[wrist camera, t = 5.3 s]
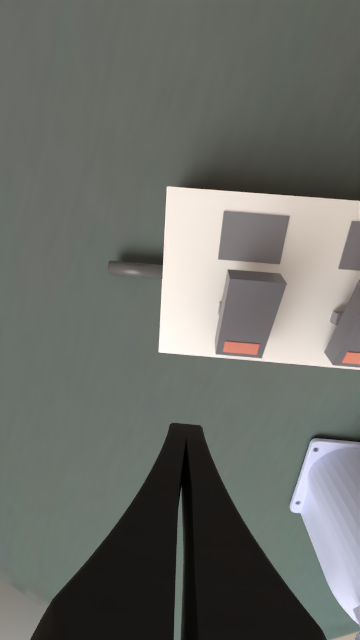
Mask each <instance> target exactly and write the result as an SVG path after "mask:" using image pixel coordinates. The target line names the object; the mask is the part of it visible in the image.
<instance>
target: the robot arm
mask: <svg viewBox="0 0 360 640" xmlns="http://www.w3.org/2000/svg"><path fill="white" fill-rule="evenodd" d="M181 488H182V518H183V546H184V565H183V593H182V620H181V640H327V639H326V637H325V635H324V633H323V631H322V629H321V628H320V627H319V625H318V624H317V623H316V622H315V620H314V619H313V618H312V617H311V615H310V614H309V613H308V612H307V610H306V609H305V608H304V607H303V605H302V604H301V603H300V602H299V600H298V599H297V598H296V596H295V595H294V594H293V592H292V591H291V590H290V589H289V587H288V586H287V584H286V583H285V582H284V580H283V579H282V578H281V576H280V575H279V574H278V572H277V571H276V569H275V568H274V567H273V565H272V564H271V562H270V561H269V559H268V558H267V556H266V555H265V553H264V552H263V550H262V549H261V547H260V546H259V545H258V543H257V542H256V540H255V539H254V537H253V536H252V534H251V532H250V531H249V529H248V527H247V526H246V524H245V523H244V521H243V519H242V518H241V516H240V514H239V512H238V511H237V509H236V507H235V505H234V503H233V502H232V500H231V498H230V496H229V494H228V492H227V490H226V488H225V486H224V484H223V482H222V480H221V478H220V476H219V473H218V471H217V469H216V466H215V464H214V462H213V459H212V457H211V454H210V452H209V449H208V446H207V443H206V440H205V437H204V433H203V429H202V427H201V426H200V425H190V424H179V423H172V424H170V427H169V431H168V434H167V437H166V440H165V442H164V445H163V447H162V449H161V451H160V454H159V456H158V458H157V460H156V462H155V464H154V466H153V468H152V469H151V471H150V473H149V475H148V477H147V478H146V480H145V482H144V484H143V485H142V487H141V489H140V490H139V492H138V494H137V495H136V497H135V498H134V500H133V501H132V503H131V504H130V506H129V507H128V509H127V510H126V512H125V513H124V514H123V516H122V517H121V519H120V520H119V521H118V523H117V524H116V525H115V527H114V528H113V529H112V531H111V532H110V533H109V535H108V536H107V537H106V538H105V540H104V541H103V542H102V543H101V545H100V546H99V547H98V548H97V549H96V551H95V552H94V553H93V554H92V556H91V557H90V558H89V559H88V560H87V562H86V563H85V564H84V565H83V566H82V567H81V569H80V570H79V571H78V572H77V573H76V574H75V575H74V576H73V577H72V579H71V580H70V581H69V582H68V583H67V584H66V585H65V586H64V587H63V588H62V590H61V591H60V592H59V593H58V594H57V595H56V596H55V597H54V598H53V600H52V601H51V603H50V605H49V606H48V608H47V610H46V612H45V613H44V615H43V617H42V619H41V620H40V622H39V624H38V626H37V628H36V630H35V632H34V633H33V636H32V637H31V640H174V607H175V575H176V546H177V521H178V506H179V499H180V491H181ZM290 509H291V511H292V512H294V513H301V515H302V518H303V521H304V523H305V526H306V528H307V531H308V533H309V536H310V539H311V541H312V544H313V546H314V549H315V551H316V554H317V557H318V559H319V562H320V564H321V567H322V570H323V572H324V575H325V577H326V580H327V582H328V584H329V587H330V589H331V591H332V592H333V594H334V596H335V597H336V599H337V600H338V602H339V603H340V605H341V606H342V607H343V608H344V610H345V611H346V612H347V613H348V614H349V615H350V617H351V618H352V619H353V620H354V621H356V622H357V623H358V624H359V626H360V442H353V441H342V440H331V439H320V438H314V439H312V440H311V442H310V444H309V447H308V451H307V454H306V457H305V460H304V463H303V466H302V469H301V472H300V475H299V478H298V482H297V485H296V488H295V491H294V494H293V497H292V500H291V503H290ZM355 640H360V632H359V633H358V634H357V636H356V639H355Z"/></svg>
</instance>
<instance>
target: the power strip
mask: <svg viewBox="0 0 360 640" xmlns="http://www.w3.org/2000/svg"><path fill="white" fill-rule="evenodd" d="M227 269H232V270H244V271H257V272H269V273H280V274H281V275H282V277H283V278H284V280H285V281H286V283H287V285H286V288H285V291H284V294H283V297H282V300H281V303H280V306H279V309H278V312H277V315H276V318H275V321H274V324H273V327H272V330H271V333H270V336H269V339H268V342H267V344H266V347H265V350H264V353H263V356H262V358H252V357H240V356H229V355H217V354H215V336H216V331H217V325H218V319H219V314H220V308H221V303H222V297H223V291H224V286H225V280H226V275H227ZM108 273H109V275H116V276H128V277H141V278H153V279H162V297H161V318H160V338H159V352H162V353H174V354H185V355H197V356H208V357H220V358H231V359H243V360H254V361H266V362H277V363H289V364H300V365H312V366H323V367H335V368H346V369H358V370H360V368H359V367H347V366H336V365H332V363H331V362H330V360H329V359H328V357H327V356H326V354H325V353H324V351H325V349H326V347H327V345H328V343H329V341H330V339H331V337H332V335H333V333H334V331H335V329H336V327H337V325H338V322H339V320H340V318H341V316H342V314H343V312H344V310H345V308H346V306H347V304H348V302H349V300H350V298H351V296H352V294H353V292H354V290H355V287H356V285H357V283H358V281H359V280H360V201H354V200H341V199H328V198H314V197H301V196H287V195H274V194H261V193H247V192H234V191H220V190H207V189H193V188H180V187H167V196H166V217H165V237H164V257H163V265H159V264H146V263H134V262H122V261H109V263H108Z"/></svg>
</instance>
